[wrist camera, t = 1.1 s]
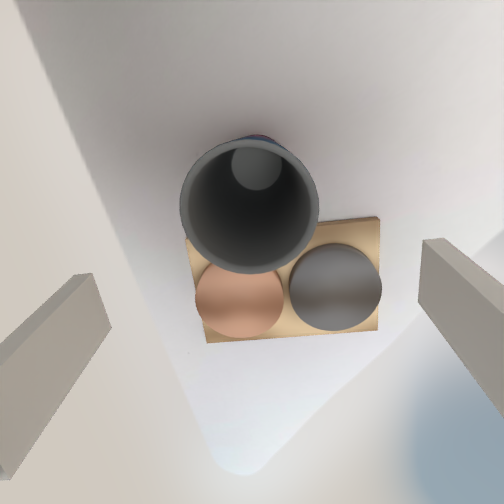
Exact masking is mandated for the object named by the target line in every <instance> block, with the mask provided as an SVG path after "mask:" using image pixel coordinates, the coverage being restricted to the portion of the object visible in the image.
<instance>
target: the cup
mask: <svg viewBox="0 0 504 504" xmlns="http://www.w3.org/2000/svg"><path fill="white" fill-rule="evenodd" d="M318 215H319V198H318V194H317V190H316V186H315V184H314V181H313V179H312V177H311V175H310V173H309V172H308V170H307V169H306V168H305V166H304V165H303V164H302V163H301V161H300V160H299V159H297V158H296V157H295V156H294V155H293V154H292V153H290V152H289V151H288V150H286V149H285V148H284V147H282V146H281V145H279V144H278V143H277V142H275V141H274V140H272V139H271V138H269V137H266V136H263V135H251V136H247V137H243V138H240V139H236V140H233V141H230V142H227V143H224V144H221V145H218V146H217V147H215V148H213V149H211V150H210V151H208V152H206V153H205V154H204V155H203V156H202V157H201V158H200V159H199V160H198V161H197V162H196V163H195V164H194V165H193V167H192V168H191V170H190V171H189V172H188V174H187V177H186V179H185V181H184V183H183V186H182V190H181V195H180V216H181V221H182V226H183V228H184V230H185V233H186V235H187V237H188V239H189V240H190V242H191V243H192V245H193V247H194V248H195V249H196V250H197V251H198V252H199V253H200V254H201V255H202V256H203V257H204V258H205V259H207V260H208V261H209V262H211V263H212V264H214V265H216V266H218V267H220V268H222V269H224V270H227V271H231V272H234V273H239V274H262V273H266V272H270V271H274V270H276V269H278V268H280V267H283V266H285V265H287V264H288V263H289V262H291V261H292V260H293V259H295V258H296V257H297V256H298V255H299V254H300V253H301V252H302V251H303V250H304V249H305V248H306V246H307V244H308V243H309V241H310V240H311V238H312V236H313V234H314V231H315V228H316V226H317V221H318Z"/></svg>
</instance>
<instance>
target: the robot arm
mask: <svg viewBox="0 0 504 504" xmlns="http://www.w3.org/2000/svg"><path fill="white" fill-rule="evenodd" d="M418 303H419V304H420V305H421V307H422V308H423V310H424V311H425V312H426V314H427V315H428V316H429V318H430V319H431V320H432V322H433V323H434V324H435V326H436V327H437V328H438V330H439V331H440V333H441V334H442V335H443V337H444V338H445V339H446V341H447V342H448V343H449V345H450V346H451V347H452V349H453V350H454V351H455V353H456V354H457V355H458V357H459V358H460V360H461V361H462V362H463V364H464V365H465V366H466V368H467V369H468V370H469V372H470V373H471V375H472V376H473V377H474V379H475V380H476V381H477V383H478V384H479V385H480V387H481V388H482V389H483V391H484V392H485V393H486V395H487V396H488V398H489V399H490V400H491V401H492V403H493V404H494V406H495V407H496V408H497V410H498V411H499V412H500V414H501V415H502V416H503V418H504V285H502V284H501V283H500V282H499V281H497V280H496V279H495V278H493V277H492V276H491V275H490V274H489V273H487V272H486V271H485V270H484V269H482V268H481V267H480V266H478V265H477V264H476V263H475V262H474V261H472V260H471V259H470V258H469V257H467V256H466V255H465V254H463V253H462V252H461V251H460V250H458V249H457V248H456V247H455V246H453V245H452V244H451V243H450V242H448V241H447V240H446V239H445V238H438V239H428V240H423V243H422V256H421V268H420V281H419V294H418ZM111 328H112V327H111V325H110V322H109V319H108V316H107V313H106V311H105V308H104V305H103V302H102V300H101V297H100V294H99V291H98V288H97V285H96V283H95V280H94V277H93V274H92V273H88V274H78V275H74V276H73V277H72V278H70V280H68V281H67V282H66V283H65V284H64V285H63V286H62V287H61V288H60V289H59V290H58V291H57V292H55V293H54V294H53V295H52V296H51V297H50V298H49V299H48V300H47V301H46V302H45V303H44V304H43V305H42V306H40V307H39V308H38V309H37V310H36V311H35V312H34V313H33V314H32V315H31V316H30V317H29V318H27V319H26V320H25V321H24V322H23V323H22V324H21V325H20V326H19V327H18V328H17V329H16V330H15V331H14V332H13V333H11V334H10V335H9V336H8V337H7V338H6V339H5V340H4V341H3V342H2V343H1V344H0V480H10V479H11V478H12V477H13V475H14V474H15V472H16V471H17V469H18V468H19V466H20V464H21V463H22V462H23V460H24V459H25V457H26V455H27V454H28V452H29V451H30V450H31V448H32V447H33V445H34V443H35V442H36V440H37V439H38V438H39V436H40V435H41V433H42V431H43V430H44V428H45V427H46V426H47V424H48V423H49V421H50V420H51V418H52V416H53V415H54V414H55V412H56V411H57V409H58V408H59V406H60V404H61V403H62V401H63V400H64V399H65V397H66V396H67V394H68V393H69V391H70V390H71V388H72V386H73V385H74V384H75V382H76V381H77V379H78V377H79V376H80V375H81V373H82V371H83V370H84V369H85V367H86V366H87V364H88V363H89V361H90V360H91V358H92V357H93V355H94V354H95V352H96V351H97V349H98V348H99V346H100V345H101V343H102V341H103V340H104V338H105V337H106V336H107V334H108V333H109V331H110V330H111Z"/></svg>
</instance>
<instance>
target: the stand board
mask: <svg viewBox="0 0 504 504" xmlns="http://www.w3.org/2000/svg"><path fill="white" fill-rule="evenodd" d="M185 241H186V246H187V251H188V256H189V260H190V265H191V270H192V275H193V279H194V284H195V289H196V294H195V302H196V307H197V310H198V313H199V315H200V316H201V318H202V322H203V327H204V332H205V336H206V341H207V343H218V342H231V341H244V340H257V339H270V338H283V337H297V336H310V335H323V334H336V333H349V332H362V331H375V330H378V304H379V301H380V298H381V293H382V283H381V279H380V276H379V243H380V219H379V218H378V217H369V218H359V219H349V220H339V221H330V222H320V223H317V226H316V228H315V231H314V234H313V236H312V238H311V240H310V241H309V243H308V244H307V246H306V248H305V249H304V250H303V251H302V252H301V253H300V254H299V255H298V256H297V257H296V258H295V259H293V260H292V261H291V262H289V263H288V264H287V265H285V266H283V267H280V268H278V269H276V270H274V271H270V272H266V273H262V274H239V273H234V272H231V271H227V270H224V269H222V268H220V267H218V266H216V265H214V264H212V263H211V262H209V261H208V260H207V259H205V258H204V257H203V256H202V255H201V254H200V253H199V252H198V251H197V250H196V249H195V248H194V247H193V245H192V243H191V242H190V240H189V239H188V237H187V238H186V239H185Z"/></svg>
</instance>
